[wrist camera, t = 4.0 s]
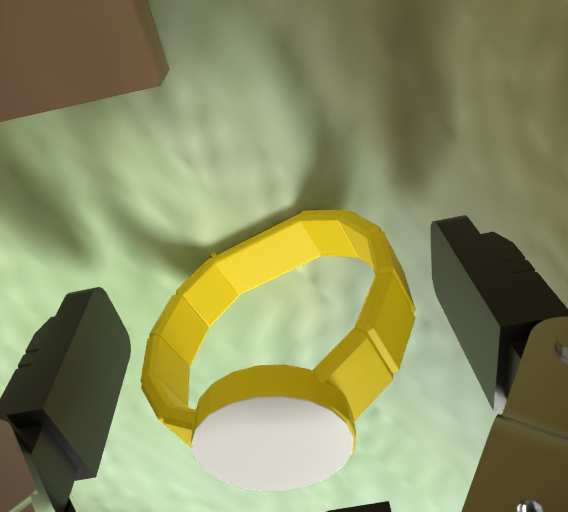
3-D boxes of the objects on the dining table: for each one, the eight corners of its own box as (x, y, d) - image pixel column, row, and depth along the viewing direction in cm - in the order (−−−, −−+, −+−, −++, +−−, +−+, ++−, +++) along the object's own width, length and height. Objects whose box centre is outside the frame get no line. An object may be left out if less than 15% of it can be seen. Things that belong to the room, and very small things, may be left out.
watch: (209, 319, 14) (168, 527, 10) (152, 253, 13) (71, 459, 8) (398, 241, 13) (464, 449, 8) (356, 155, 11) (406, 346, 6)
